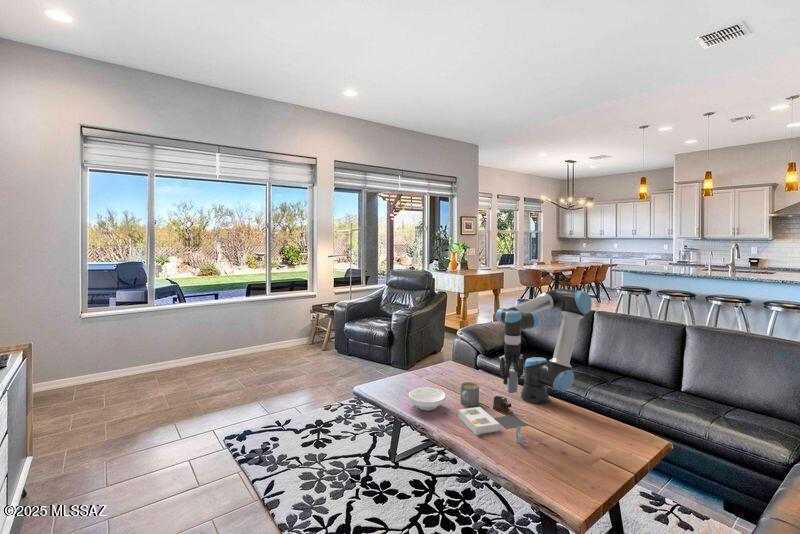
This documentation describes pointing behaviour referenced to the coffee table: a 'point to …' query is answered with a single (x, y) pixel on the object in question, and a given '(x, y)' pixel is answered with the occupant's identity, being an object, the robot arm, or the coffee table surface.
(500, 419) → the mat
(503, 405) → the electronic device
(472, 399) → the coffee mug
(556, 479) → the coffee table surface
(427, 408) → the bowl
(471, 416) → the socket block
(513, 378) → the plug
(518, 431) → the architectural model
